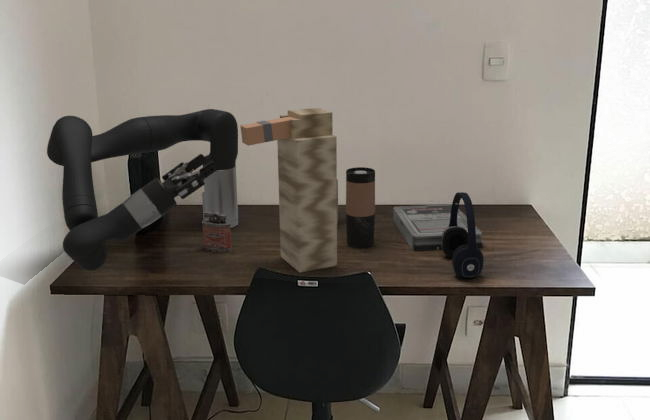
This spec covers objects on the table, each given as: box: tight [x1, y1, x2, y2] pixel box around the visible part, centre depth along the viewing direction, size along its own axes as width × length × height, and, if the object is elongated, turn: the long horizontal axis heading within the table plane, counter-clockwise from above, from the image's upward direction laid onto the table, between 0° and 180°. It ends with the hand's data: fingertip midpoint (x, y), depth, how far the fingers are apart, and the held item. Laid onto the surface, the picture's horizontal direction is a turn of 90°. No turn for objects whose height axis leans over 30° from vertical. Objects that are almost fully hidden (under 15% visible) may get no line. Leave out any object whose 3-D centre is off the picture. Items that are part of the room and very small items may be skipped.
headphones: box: [441, 191, 484, 280], centre depth 168 cm, size 20×7×18 cm, turn 2°
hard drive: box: [392, 203, 483, 252], centre depth 195 cm, size 18×27×4 cm
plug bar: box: [240, 116, 298, 146], centre depth 162 cm, size 14×4×4 cm, turn 116°
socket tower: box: [276, 107, 338, 273], centre depth 170 cm, size 10×12×37 cm
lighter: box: [201, 212, 233, 253], centre depth 183 cm, size 8×3×10 cm, turn 71°
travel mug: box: [345, 166, 376, 249], centre depth 184 cm, size 8×8×20 cm
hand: (209, 160), depth 157 cm, fingers open, 8 cm apart
